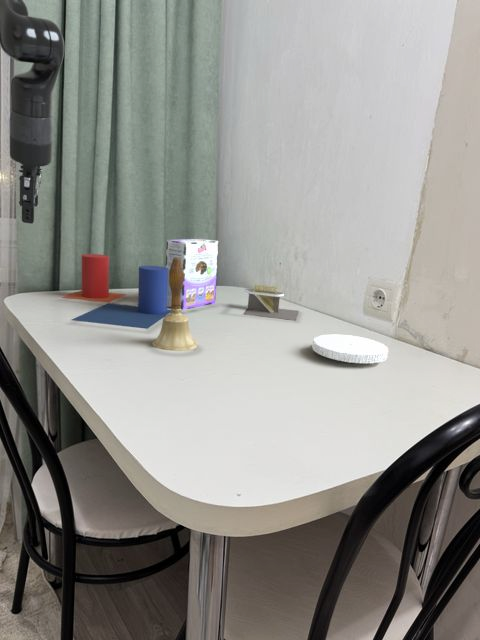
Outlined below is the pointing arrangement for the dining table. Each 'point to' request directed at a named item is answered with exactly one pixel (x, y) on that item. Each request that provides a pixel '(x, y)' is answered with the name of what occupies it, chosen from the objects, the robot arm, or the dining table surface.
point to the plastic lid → (350, 348)
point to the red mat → (108, 299)
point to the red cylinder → (95, 276)
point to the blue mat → (121, 316)
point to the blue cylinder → (152, 289)
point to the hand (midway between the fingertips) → (30, 213)
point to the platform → (267, 304)
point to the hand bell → (175, 317)
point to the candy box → (194, 271)
